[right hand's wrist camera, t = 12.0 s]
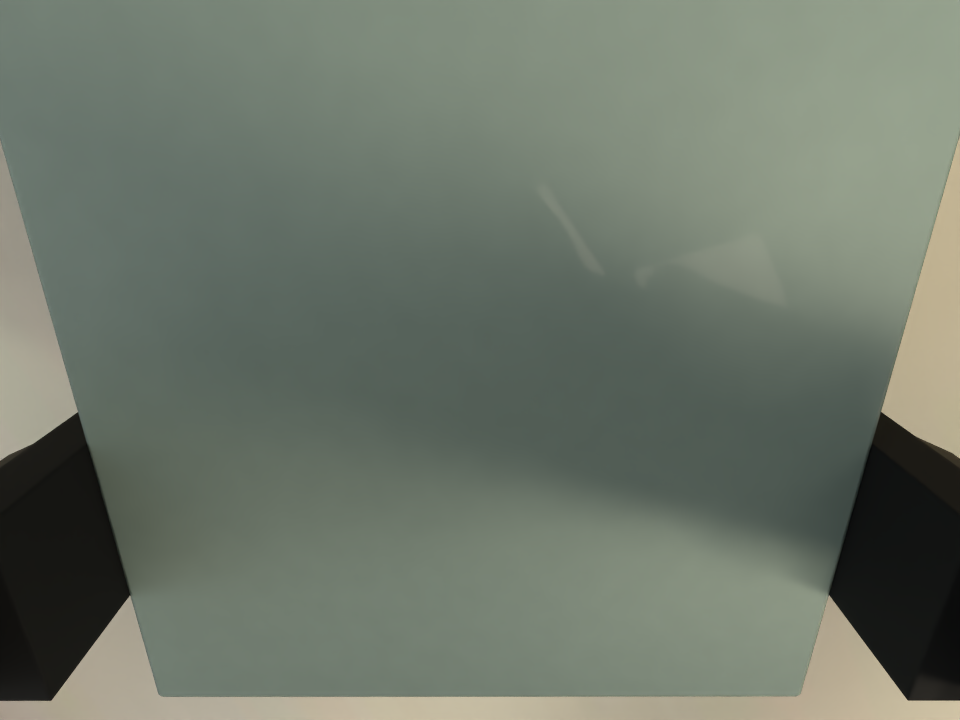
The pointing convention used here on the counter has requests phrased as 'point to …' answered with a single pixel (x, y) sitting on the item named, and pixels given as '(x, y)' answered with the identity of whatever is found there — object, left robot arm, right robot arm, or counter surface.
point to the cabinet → (479, 323)
